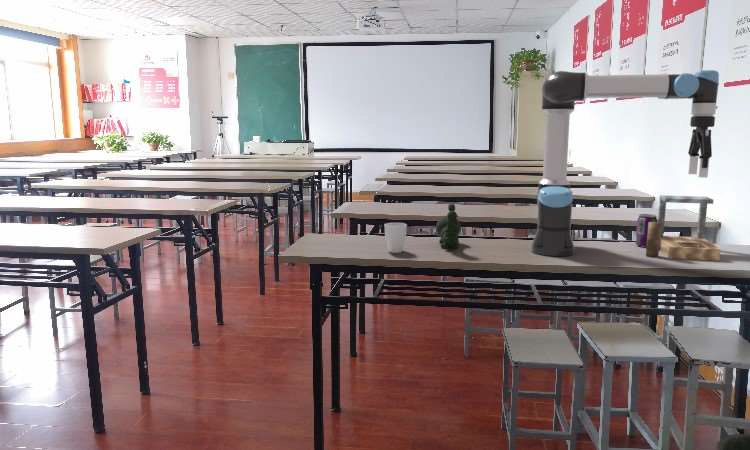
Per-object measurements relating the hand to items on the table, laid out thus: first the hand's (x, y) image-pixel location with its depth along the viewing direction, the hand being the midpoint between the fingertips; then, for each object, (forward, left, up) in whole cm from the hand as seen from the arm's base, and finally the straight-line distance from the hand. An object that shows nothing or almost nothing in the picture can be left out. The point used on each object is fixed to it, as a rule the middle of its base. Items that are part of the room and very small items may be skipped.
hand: (697, 175), depth 213 cm
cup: (-105, -26, -28) cm, 112 cm away
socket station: (-2, -2, -28) cm, 28 cm away
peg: (-15, -11, -28) cm, 34 cm away
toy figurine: (-87, -12, -28) cm, 92 cm away
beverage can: (-14, +7, -28) cm, 32 cm away
